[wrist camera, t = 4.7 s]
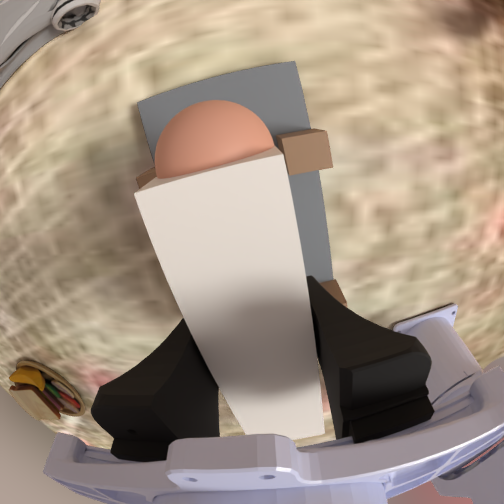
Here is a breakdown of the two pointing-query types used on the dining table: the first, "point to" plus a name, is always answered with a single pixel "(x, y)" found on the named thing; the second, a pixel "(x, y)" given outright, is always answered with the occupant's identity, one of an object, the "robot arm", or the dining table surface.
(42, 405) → the toy sandwich meal
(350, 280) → the dining table surface
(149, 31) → the dining table surface
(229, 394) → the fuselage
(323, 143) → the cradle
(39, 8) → the car model
